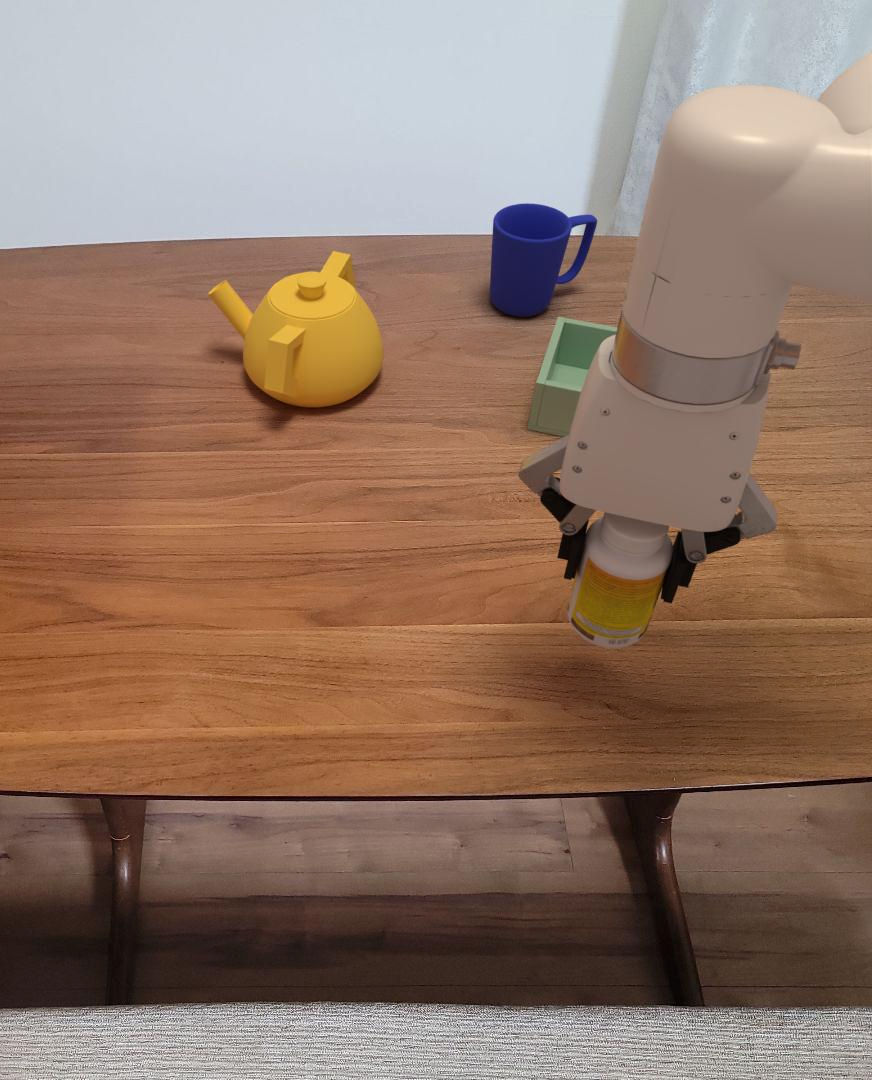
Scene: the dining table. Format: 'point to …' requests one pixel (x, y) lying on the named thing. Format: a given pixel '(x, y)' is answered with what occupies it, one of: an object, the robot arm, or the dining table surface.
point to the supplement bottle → (619, 580)
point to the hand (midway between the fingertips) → (619, 573)
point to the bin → (564, 374)
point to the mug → (533, 256)
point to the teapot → (308, 336)
